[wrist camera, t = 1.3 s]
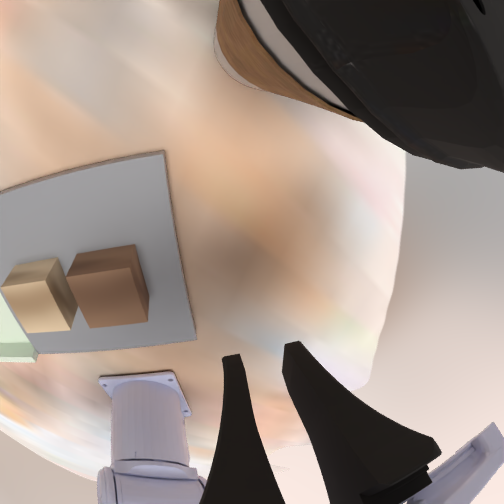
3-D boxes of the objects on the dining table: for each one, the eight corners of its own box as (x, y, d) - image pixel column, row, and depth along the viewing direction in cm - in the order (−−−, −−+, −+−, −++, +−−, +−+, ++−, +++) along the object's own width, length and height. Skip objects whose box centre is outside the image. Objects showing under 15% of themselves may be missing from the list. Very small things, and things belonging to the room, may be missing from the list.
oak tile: (78, 305, 17) (70, 330, 15) (36, 309, 16) (27, 333, 14) (57, 257, 15) (45, 280, 13) (14, 265, 14) (0, 287, 12)
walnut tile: (149, 295, 18) (147, 322, 16) (96, 303, 17) (90, 328, 15) (134, 244, 16) (129, 267, 14) (76, 253, 15) (65, 277, 13)
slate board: (195, 328, 22) (196, 339, 21) (41, 344, 19) (38, 353, 18) (164, 150, 15) (163, 154, 14) (-26, 202, 12) (-35, 208, 11)
